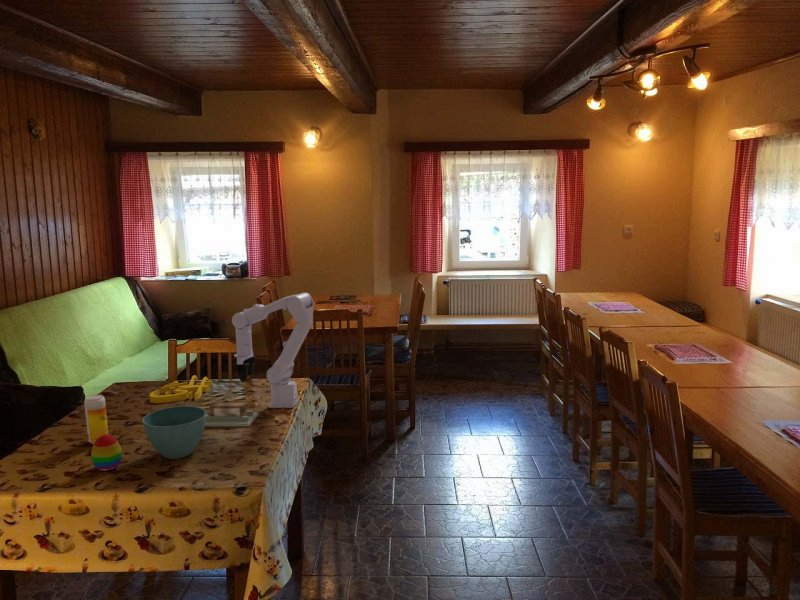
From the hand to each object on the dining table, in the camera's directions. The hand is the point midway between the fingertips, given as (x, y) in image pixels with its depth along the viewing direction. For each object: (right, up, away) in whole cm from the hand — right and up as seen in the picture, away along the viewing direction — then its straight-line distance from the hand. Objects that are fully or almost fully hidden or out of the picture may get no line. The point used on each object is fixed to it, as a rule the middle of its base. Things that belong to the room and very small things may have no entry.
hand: (246, 377), depth 247 cm
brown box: (-2, -12, -19) cm, 23 cm away
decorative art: (-29, -8, +17) cm, 35 cm away
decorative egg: (-27, -20, -56) cm, 66 cm away
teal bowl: (-10, -18, -47) cm, 52 cm away
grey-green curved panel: (-2, -13, -19) cm, 23 cm away
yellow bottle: (-39, -17, -36) cm, 56 cm away
